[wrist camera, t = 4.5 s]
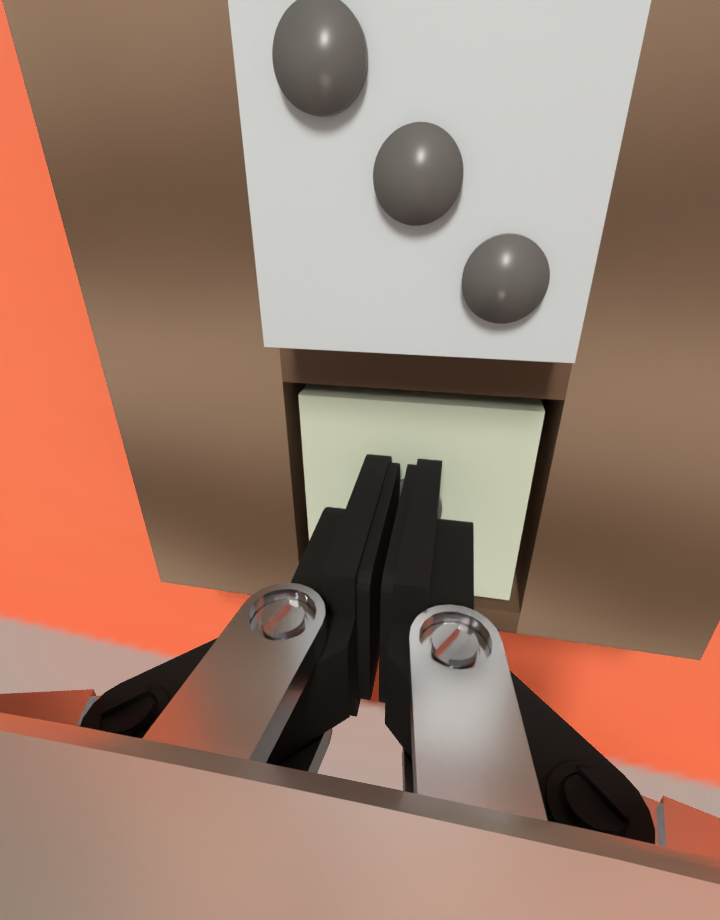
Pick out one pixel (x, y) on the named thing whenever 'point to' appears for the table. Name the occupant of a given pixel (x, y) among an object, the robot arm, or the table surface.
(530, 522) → the counting board
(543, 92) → the three dot tile
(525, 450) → the cream knobbed tile
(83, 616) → the table surface
